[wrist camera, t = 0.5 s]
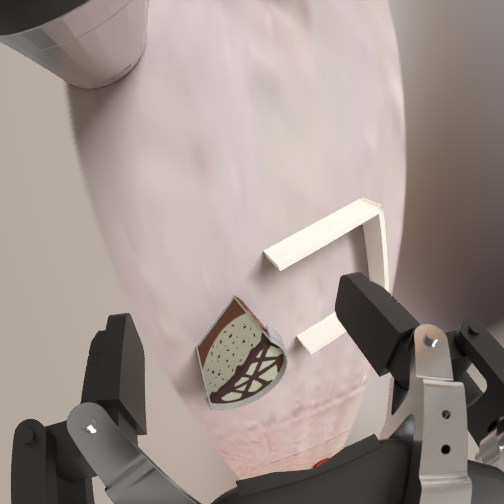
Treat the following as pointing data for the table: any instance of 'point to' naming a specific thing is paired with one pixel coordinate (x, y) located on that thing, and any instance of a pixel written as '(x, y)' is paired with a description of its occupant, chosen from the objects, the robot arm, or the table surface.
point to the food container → (239, 358)
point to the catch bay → (323, 235)
